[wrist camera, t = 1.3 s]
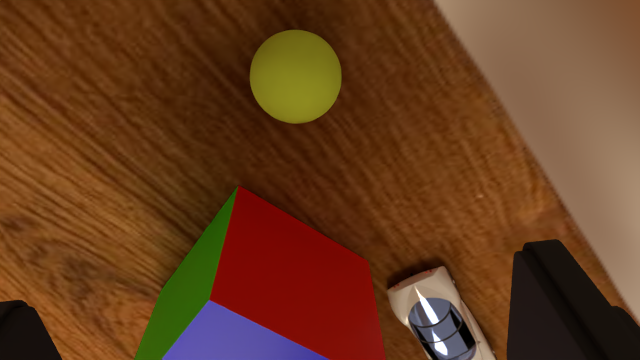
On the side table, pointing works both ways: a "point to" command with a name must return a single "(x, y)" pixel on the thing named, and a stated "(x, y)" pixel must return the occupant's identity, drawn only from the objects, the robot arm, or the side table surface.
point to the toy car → (439, 317)
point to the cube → (264, 294)
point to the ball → (295, 76)
